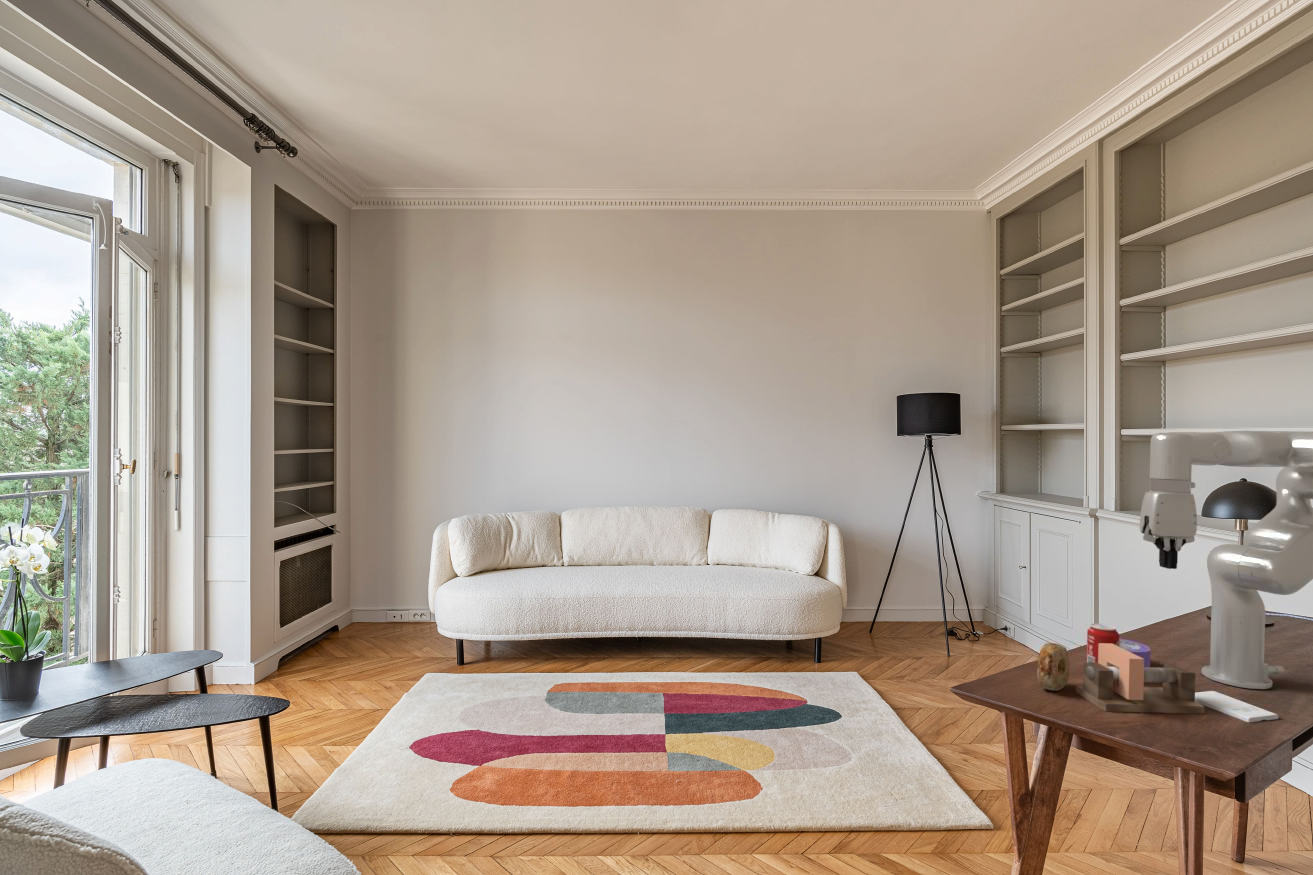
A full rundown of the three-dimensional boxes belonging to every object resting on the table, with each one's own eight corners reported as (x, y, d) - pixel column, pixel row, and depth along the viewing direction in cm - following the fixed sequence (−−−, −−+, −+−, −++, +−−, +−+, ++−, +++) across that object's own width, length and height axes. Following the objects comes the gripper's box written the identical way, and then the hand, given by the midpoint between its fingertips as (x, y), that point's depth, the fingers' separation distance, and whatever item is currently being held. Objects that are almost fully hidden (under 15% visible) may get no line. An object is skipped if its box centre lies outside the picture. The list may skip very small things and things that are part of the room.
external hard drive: (1214, 697, 148) (1278, 721, 136) (1185, 700, 146) (1248, 725, 134) (1214, 690, 148) (1279, 713, 136) (1185, 693, 146) (1248, 717, 134)
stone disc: (1051, 696, 146) (1052, 651, 146) (1033, 691, 149) (1034, 646, 149) (1072, 686, 152) (1073, 642, 152) (1055, 681, 155) (1056, 638, 155)
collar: (1111, 681, 148) (1112, 643, 148) (1143, 700, 138) (1144, 658, 138) (1097, 681, 149) (1098, 643, 148) (1128, 699, 139) (1129, 658, 138)
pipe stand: (1168, 694, 148) (1168, 659, 148) (1204, 713, 138) (1204, 676, 138) (1076, 692, 149) (1077, 657, 149) (1105, 711, 139) (1106, 674, 139)
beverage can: (1123, 683, 155) (1124, 631, 155) (1093, 680, 156) (1094, 629, 156) (1110, 673, 161) (1112, 623, 161) (1081, 671, 162) (1082, 621, 162)
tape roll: (1096, 652, 176) (1096, 633, 176) (1151, 663, 169) (1152, 643, 169) (1090, 664, 167) (1090, 644, 167) (1148, 676, 160) (1148, 655, 160)
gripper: (1190, 486, 156) (1188, 564, 156) (1125, 485, 157) (1123, 563, 157) (1216, 489, 149) (1214, 571, 149) (1148, 488, 149) (1146, 570, 149)
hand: (1168, 567), depth 153 cm, fingers closed
